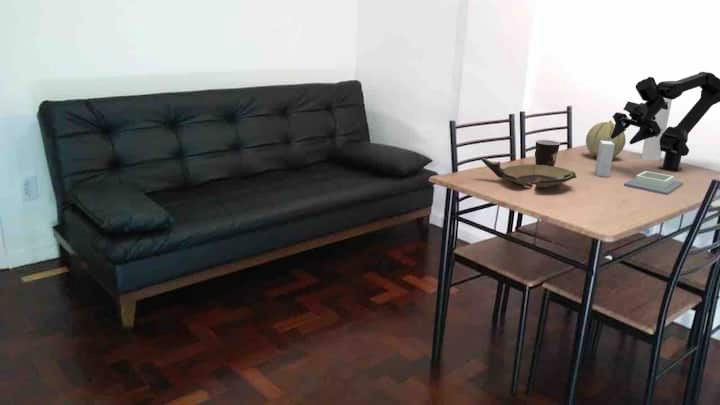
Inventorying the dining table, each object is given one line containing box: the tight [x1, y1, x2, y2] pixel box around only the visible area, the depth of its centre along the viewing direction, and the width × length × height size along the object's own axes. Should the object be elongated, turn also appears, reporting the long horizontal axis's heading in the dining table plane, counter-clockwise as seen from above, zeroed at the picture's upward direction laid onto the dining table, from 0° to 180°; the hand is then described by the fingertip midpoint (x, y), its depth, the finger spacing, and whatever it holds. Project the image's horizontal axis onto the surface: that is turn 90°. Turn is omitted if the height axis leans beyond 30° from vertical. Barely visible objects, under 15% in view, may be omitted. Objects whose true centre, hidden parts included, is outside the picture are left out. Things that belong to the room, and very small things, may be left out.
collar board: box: [623, 170, 684, 196], centre depth 209 cm, size 18×14×3 cm
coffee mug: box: [534, 139, 561, 166], centre depth 224 cm, size 12×9×10 cm
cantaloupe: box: [585, 120, 627, 158], centre depth 244 cm, size 15×15×15 cm
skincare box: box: [594, 141, 615, 178], centre depth 219 cm, size 6×4×12 cm
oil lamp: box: [480, 157, 577, 189], centre depth 205 cm, size 22×30×8 cm
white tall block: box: [640, 98, 673, 162], centre depth 245 cm, size 7×7×25 cm
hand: (620, 140), depth 220 cm, fingers open, 9 cm apart
